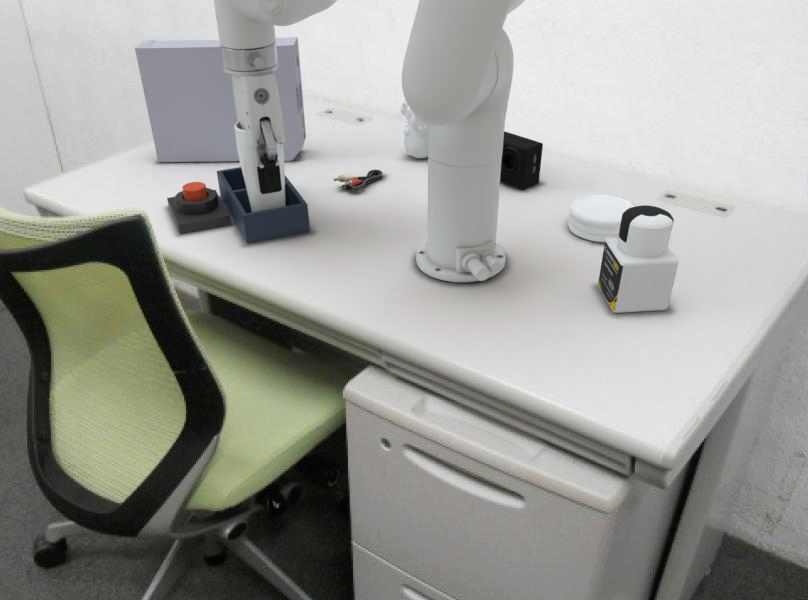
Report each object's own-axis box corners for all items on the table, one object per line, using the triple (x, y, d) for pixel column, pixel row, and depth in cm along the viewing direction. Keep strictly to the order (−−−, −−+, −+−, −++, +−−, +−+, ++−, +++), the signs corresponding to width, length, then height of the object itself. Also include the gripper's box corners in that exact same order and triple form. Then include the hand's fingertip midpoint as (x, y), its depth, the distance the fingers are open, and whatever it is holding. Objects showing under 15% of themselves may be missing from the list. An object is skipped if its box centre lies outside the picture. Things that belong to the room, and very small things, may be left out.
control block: (231, 225, 122) (227, 204, 120) (180, 234, 120) (175, 213, 118) (216, 199, 130) (213, 179, 128) (168, 207, 128) (164, 187, 126)
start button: (209, 200, 122) (207, 188, 121) (186, 204, 121) (184, 192, 120) (205, 191, 125) (203, 180, 124) (182, 195, 124) (180, 183, 123)
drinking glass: (284, 231, 118) (272, 132, 108) (242, 228, 119) (226, 130, 110) (297, 212, 123) (286, 116, 114) (256, 210, 124) (242, 115, 115)
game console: (165, 151, 148) (143, 39, 136) (307, 150, 147) (297, 36, 135) (157, 162, 144) (134, 47, 132) (303, 161, 143) (293, 45, 130)
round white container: (644, 223, 118) (649, 202, 116) (621, 249, 112) (625, 227, 110) (582, 209, 123) (585, 188, 121) (556, 233, 117) (559, 211, 114)
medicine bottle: (596, 286, 104) (610, 201, 97) (649, 283, 104) (667, 198, 97) (612, 314, 98) (629, 226, 91) (668, 310, 99) (689, 223, 91)
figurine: (393, 156, 143) (392, 89, 136) (419, 147, 147) (419, 81, 139) (420, 166, 139) (420, 97, 132) (446, 156, 143) (448, 88, 135)
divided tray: (310, 232, 119) (307, 204, 116) (247, 244, 116) (242, 215, 114) (277, 187, 133) (274, 161, 130) (220, 197, 131) (216, 170, 128)
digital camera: (471, 175, 135) (473, 135, 131) (492, 167, 138) (495, 127, 134) (517, 192, 129) (521, 151, 125) (538, 183, 132) (543, 142, 127)
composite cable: (376, 173, 137) (376, 159, 136) (394, 181, 134) (394, 167, 133) (332, 188, 132) (331, 174, 131) (349, 197, 129) (349, 182, 128)
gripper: (293, 69, 101) (305, 200, 112) (260, 40, 114) (274, 160, 125) (237, 77, 99) (254, 209, 110) (209, 46, 112) (227, 167, 123)
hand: (264, 182), depth 117 cm, fingers closed on drinking glass, 6 cm apart
